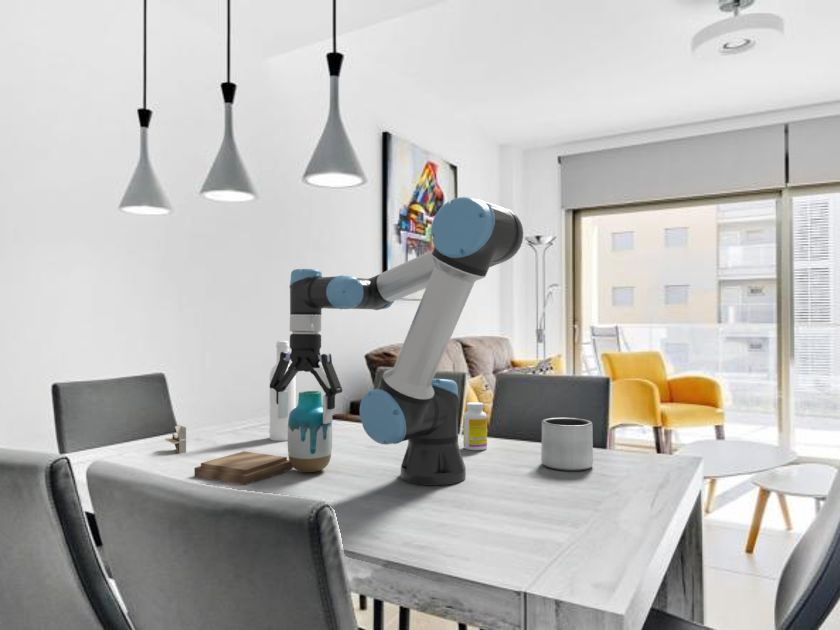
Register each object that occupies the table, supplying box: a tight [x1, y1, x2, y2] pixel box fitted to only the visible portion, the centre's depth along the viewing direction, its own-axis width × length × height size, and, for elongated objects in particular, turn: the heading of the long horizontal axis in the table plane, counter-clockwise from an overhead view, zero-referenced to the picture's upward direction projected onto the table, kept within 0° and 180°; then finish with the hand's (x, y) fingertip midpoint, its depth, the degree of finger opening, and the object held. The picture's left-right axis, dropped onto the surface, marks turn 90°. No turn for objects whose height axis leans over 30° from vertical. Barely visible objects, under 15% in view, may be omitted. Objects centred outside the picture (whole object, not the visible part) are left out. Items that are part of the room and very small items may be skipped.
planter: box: [540, 417, 594, 472], centre depth 151 cm, size 13×13×11 cm
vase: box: [287, 390, 333, 473], centre depth 145 cm, size 11×11×19 cm
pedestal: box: [194, 450, 294, 486], centre depth 144 cm, size 16×16×3 cm
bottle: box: [268, 340, 297, 442], centre depth 185 cm, size 8×8×30 cm
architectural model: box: [164, 424, 187, 454], centre depth 168 cm, size 3×7×8 cm, turn 41°
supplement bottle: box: [462, 401, 488, 452], centre depth 171 cm, size 7×7×13 cm
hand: (304, 420), depth 146 cm, fingers open, 13 cm apart
